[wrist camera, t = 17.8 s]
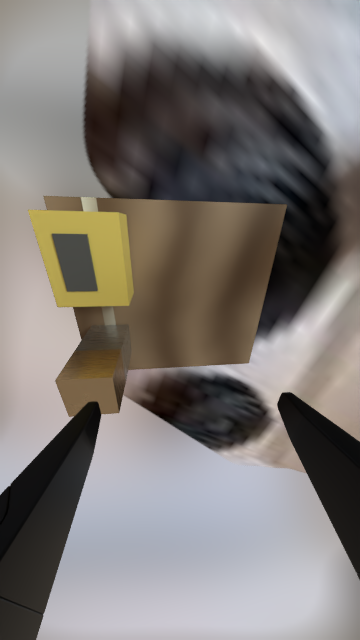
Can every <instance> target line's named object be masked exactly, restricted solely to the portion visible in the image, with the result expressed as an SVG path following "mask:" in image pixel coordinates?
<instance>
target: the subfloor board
mask: <svg viewBox="0 0 360 640" xmlns="http://www.w3.org/2000/svg"><path fill="white" fill-rule="evenodd" d="M44 200H45V204H46V207H47V210H53V211H88V212H119V213H122V214H126V217H127V227H128V237H129V248H130V258H131V268H132V278H133V288H134V294H133V296H132V299H131V302H130V305H129V306H92V307H73V309H74V312H75V316H76V320H77V324H78V328H79V331H80V336H81V339H83V338H84V336H85V335H86V333H87V332H88V330H89V329H90V327H91V326H92V325H127V324H128V325H129V334H130V342H131V351H132V354H131V359H130V364H129V368H128V370H133V369H152V368H170V367H188V366H207V365H225V364H243V363H249V360H250V356H251V352H252V347H253V343H254V339H255V335H256V331H257V327H258V323H259V319H260V314H261V310H262V306H263V302H264V298H265V294H266V290H267V286H268V282H269V277H270V273H271V269H272V265H273V261H274V257H275V253H276V249H277V244H278V240H279V236H280V232H281V228H282V224H283V220H284V216H285V211H286V207H287V205H285V204H257V203H228V202H200V201H172V200H144V199H116V198H92V197H58V196H44Z"/></svg>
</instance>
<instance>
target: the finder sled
mask: <svg viewBox="0 0 360 640" xmlns="http://www.w3.org/2000/svg"><path fill="white" fill-rule="evenodd" d="M28 212H29V215H30V218H31V222H32V225H33V228H34V232H35V235H36V238H37V241H38V245H39V248H40V251H41V254H42V258H43V261H44V264H45V267H46V271H47V274H48V277H49V280H50V283H51V287H52V290H53V293H54V297H55V300H56V303H57V307H92V306H129V305H130V302H131V299H132V296H133V294H134V288H133V278H132V268H131V258H130V248H129V237H128V227H127V217H126V214H122V213H119V212H88V211H53V210H28Z"/></svg>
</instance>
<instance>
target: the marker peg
mask: <svg viewBox="0 0 360 640" xmlns="http://www.w3.org/2000/svg"><path fill="white" fill-rule="evenodd" d="M131 354H132V351H131V342H130V334H129V325H128V324H127V325H92V326H91V327H90V329H89V330H88V332H87V333H86V335H85V336H84V338H83V339H82V341H81V342H80V344H79V345H78V347H77V348H76V350H75V351H74V353H73V355H72V356H71V357H70V359H69V360H68V362H67V363H66V365H65V367H64V368H63V370H62V371H61V373H60V374H59V376H58V377H57V379H56V384H57V387H58V389H59V392H60V394H61V397H62V400H63V402H64V405H65V407H66V410H67V413H68V415H69V417H71V416H75V415H76V414H77V413H78V412H79V411H80V410H81V409H82V408H83V407H84V406H85V405H86V404H87V403H88V402H90V401H97V402H98V403H99V407H100V410H101V414H111V413H119V411H120V406H121V402H122V397H123V392H124V387H125V383H126V378H127V373H128V368H129V364H130V359H131Z"/></svg>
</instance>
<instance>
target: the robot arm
mask: <svg viewBox="0 0 360 640" xmlns="http://www.w3.org/2000/svg"><path fill="white" fill-rule="evenodd" d="M277 406H278V410H279V412H280V415H281V417H282V420H283V422H284V425H285V428H286V430H287V433H288V435H289V438H290V440H291V442H292V444H293V446H294V448H295V450H296V452H297V454H298V456H299V458H300V460H301V462H302V464H303V466H304V468H305V470H306V472H307V474H308V476H309V478H310V480H311V482H312V484H313V486H314V488H315V490H316V492H317V494H318V496H319V498H320V500H321V502H322V505H323V507H324V509H325V511H326V512H327V514H328V517H329V519H330V521H331V523H332V524H333V527H334V528H335V531H336V533H337V534H338V537H339V539H340V541H341V543H342V545H343V547H344V549H345V551H346V553H347V555H348V557H349V559H350V561H351V563H352V565H353V567H354V569H355V571H356V572H357V575H358V577H359V579H360V442H359V441H358V440H357V439H355V438H354V437H352V436H351V435H350V434H348V433H347V432H345V431H344V430H343V429H341V428H340V427H338V426H337V425H336V424H334V423H333V422H331V421H330V420H329V419H327V418H326V417H324V416H323V415H322V414H320V413H319V412H318V411H316V410H315V409H313V408H312V407H311V406H309V405H308V404H306V403H305V402H304V401H302V400H301V399H299V398H298V397H297V396H295V395H294V394H292V393H290V392H286V393H282V394H281V396H280V398H279V401H278V404H277ZM100 419H101V410H100V407H99V403H98V402H97V401H90V402H88V403H87V404H86V405H85V406H84V407H83V408H82V409H81V410H80V411H79V412H78V413H77V414H76V415H75V416H74V417H73V418H72V420H71V421H70V422H69V423H68V424H67V425H66V426H65V427H64V428H63V429H62V430H61V431H60V432H59V433H58V434H57V435H56V436H55V438H54V439H53V440H52V441H51V442H50V443H49V444H48V445H47V446H46V447H45V448H44V450H42V451H41V452H40V453H39V455H38V456H37V457H36V458H35V459H34V460H33V461H32V462H31V463H30V464H29V465H28V466H27V467H26V468H25V469H24V470H23V472H22V473H21V474H20V475H19V476H18V477H17V478H16V479H15V480H14V481H13V482H12V483H11V486H8V487H7V488H6V489H5V490H4V492H3V493H2V494H1V495H0V640H36V638H37V635H38V631H39V628H40V625H41V622H42V619H43V614H44V612H45V609H46V605H47V602H48V599H49V595H50V592H51V589H52V586H53V583H54V580H55V576H56V573H57V570H58V567H59V563H60V560H61V557H62V554H63V550H64V547H65V544H66V541H67V538H68V534H69V531H70V528H71V524H72V521H73V518H74V515H75V511H76V508H77V505H78V502H79V499H80V496H81V492H82V489H83V486H84V482H85V479H86V476H87V473H88V470H89V466H90V463H91V460H92V457H93V453H94V448H95V443H96V439H97V434H98V429H99V423H100Z"/></svg>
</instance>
